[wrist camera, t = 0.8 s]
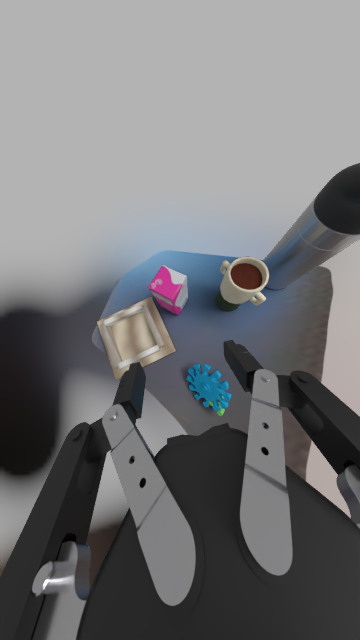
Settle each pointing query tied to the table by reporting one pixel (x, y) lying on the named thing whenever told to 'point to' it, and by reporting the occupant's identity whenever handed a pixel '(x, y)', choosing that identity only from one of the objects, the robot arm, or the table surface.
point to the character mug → (242, 282)
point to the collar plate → (135, 336)
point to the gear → (209, 388)
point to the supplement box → (170, 289)
